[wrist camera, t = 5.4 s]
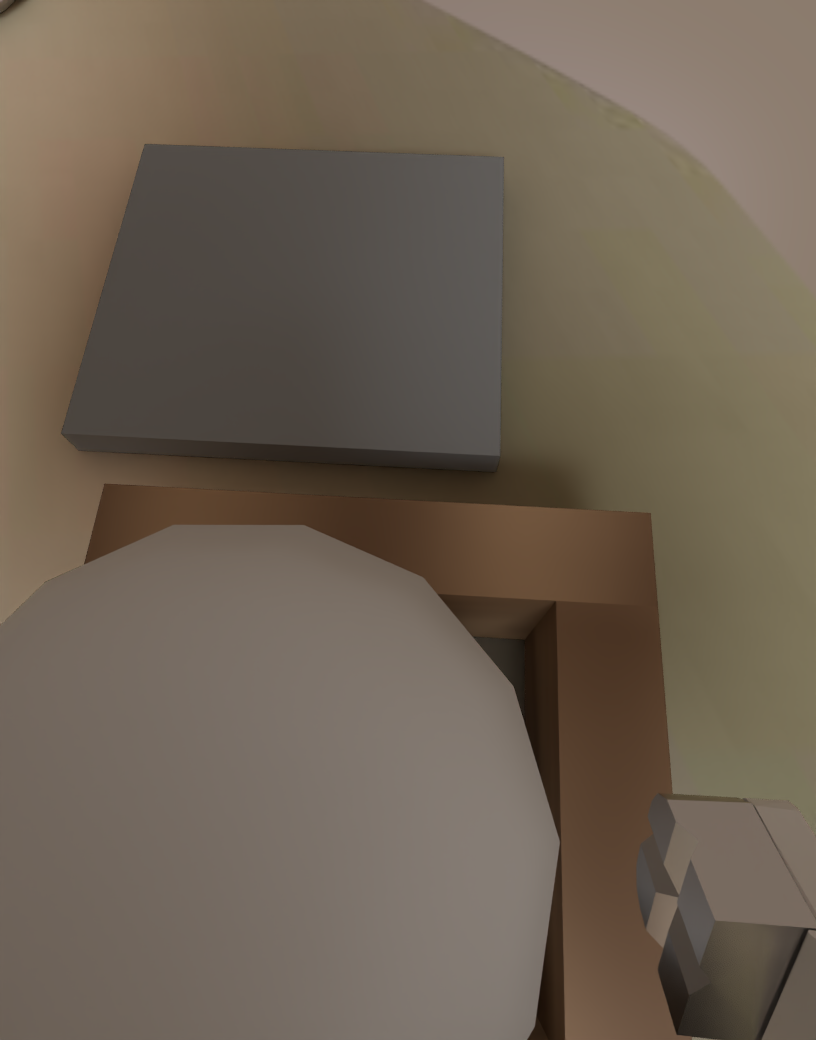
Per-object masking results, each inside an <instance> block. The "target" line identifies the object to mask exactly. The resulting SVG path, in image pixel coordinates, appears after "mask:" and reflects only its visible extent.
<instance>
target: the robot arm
mask: <svg viewBox="0 0 816 1040" xmlns="http://www.w3.org/2000/svg"><path fill="white" fill-rule="evenodd" d="M648 820H649V822H650V825H651V828H652V831H653V834H652V835H651V836H650V837H648V838H647V839H646V840H645V841H643V842H642V843H641V844H640V849H639V854H638V859H637V864H636V876H637V894H638V900H639V906H640V910H641V914H642V918H643V921H644V925H645V929H646V931H647V932H648V933H649V934H650V935H651V936H652V937H653V938H654V939H655V940H656V941H657V942H658V943H659V944H660V945H661V947H662V948H663V951H662V955H661V958H660V962H659V965H658V969H657V970H658V974H659V977H660V981H661V984H662V987H663V991H664V994H665V998H666V1001H667V1004H668V1008H669V1011H670V1014H671V1018H672V1021H673V1025H674V1028H675V1031H676V1035H682V1036H691V1037H700V1038H709V1039H718V1040H816V836H815V835H814V833H813V831H812V830H811V828H810V827H809V825H808V823H807V822H806V820H805V819H804V817H803V815H802V814H801V812H800V811H799V809H798V808H797V807H796V806H794V805H793V804H792V803H791V802H789V801H786V800H769V799H751V798H744V799H740V798H734V797H717V796H700V795H682V794H665V793H657V795H656V796H655V797H654V799H653V800H652V802H651V805H650V809H649V813H648Z"/></svg>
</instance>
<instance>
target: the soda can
mask: <svg viewBox="0 0 816 1040" xmlns="http://www.w3.org/2000/svg"><path fill="white" fill-rule="evenodd" d="M14 1H15V0H0V13H2V12H3V11H4V10H5V9H7V8H8V7H9V6H10V5H11V4H12V3H13V2H14Z"/></svg>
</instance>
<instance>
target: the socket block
mask: <svg viewBox="0 0 816 1040" xmlns="http://www.w3.org/2000/svg"><path fill="white" fill-rule="evenodd" d="M172 525H305V526H307V527H310V528H312V529H314V530H316V531H319V532H321V533H323V534H325V535H328V536H330V537H332V538H335V539H337V540H339V541H341V542H344V543H346V544H348V545H350V546H353V547H355V548H357V549H360V550H362V551H364V552H366V553H369V554H371V555H373V556H376V557H378V558H380V559H382V560H385V561H387V562H389V563H391V564H394V565H396V566H398V567H401V568H403V569H405V570H407V571H410V572H412V573H414V574H417V575H419V576H421V577H423V578H424V579H425V580H426V581H427V582H428V584H429V585H430V586H431V587H432V588H433V590H434V591H435V592H436V593H437V595H438V596H439V597H440V598H441V599H442V601H443V602H444V603H445V604H446V605H447V607H448V608H449V609H450V610H451V611H452V613H453V614H454V615H455V616H456V617H457V619H458V620H459V621H460V622H461V624H462V625H463V626H464V627H465V628H466V630H467V631H468V632H469V633H470V634H471V636H473V637H490V638H506V639H523V640H525V727H526V730H527V733H528V737H529V740H530V743H531V747H532V750H533V753H534V757H535V760H536V763H537V767H538V770H539V773H540V777H541V780H542V784H543V787H544V790H545V794H546V797H547V800H548V804H549V807H550V810H551V814H552V817H553V820H554V824H555V827H556V830H557V834H558V837H559V840H560V845H559V852H558V859H557V867H556V874H555V882H554V889H553V896H552V904H551V911H550V918H549V926H548V933H547V940H546V948H545V955H544V962H543V970H542V977H541V985H540V992H539V999H538V1007H537V1014H536V1021H535V1027H534V1029H533V1030H532V1032H531V1034H530V1036H529V1037H528V1039H527V1040H692V1037H691V1036H682V1035H676V1031H675V1028H674V1025H673V1021H672V1018H671V1014H670V1011H669V1008H668V1004H667V1001H666V998H665V994H664V991H663V987H662V984H661V981H660V977H659V974H658V970H657V969H658V965H659V962H660V958H661V955H662V951H663V948H662V947H661V945H660V944H659V943H658V942H657V941H656V940H655V939H654V938H653V937H652V936H651V935H650V934H649V933H648V932H647V931H646V929H645V925H644V921H643V918H642V914H641V910H640V906H639V900H638V894H637V876H636V864H637V859H638V854H639V849H640V844H641V843H642V842H643V841H645V840H646V839H647V838H648V837H650V836H651V835H652V834H653V831H652V828H651V825H650V822H649V820H648V813H649V809H650V805H651V802H652V800H653V799H654V797H655V796H656V795H657V793H665V794H673V793H672V780H671V768H670V755H669V742H668V729H667V716H666V704H665V691H664V678H663V665H662V652H661V640H660V627H659V614H658V601H657V588H656V576H655V563H654V550H653V537H652V524H651V513H641V512H622V511H603V510H585V509H566V508H547V507H529V506H510V505H491V504H473V503H454V502H435V501H417V500H398V499H379V498H361V497H342V496H323V495H305V494H286V493H267V492H248V491H230V490H211V489H192V488H174V487H155V486H136V485H118V484H104V488H103V492H102V496H101V500H100V504H99V508H98V512H97V516H96V520H95V524H94V527H93V531H92V535H91V539H90V543H89V547H88V551H87V555H86V559H85V563H84V564H87V563H89V562H91V561H93V560H96V559H98V558H100V557H102V556H105V555H107V554H109V553H111V552H114V551H116V550H118V549H120V548H122V547H125V546H127V545H129V544H131V543H134V542H136V541H138V540H140V539H143V538H145V537H147V536H149V535H152V534H154V533H156V532H158V531H161V530H163V529H165V528H167V527H170V526H172Z"/></svg>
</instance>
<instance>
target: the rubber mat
mask: <svg viewBox="0 0 816 1040" xmlns="http://www.w3.org/2000/svg"><path fill="white" fill-rule="evenodd" d="M503 191H504V157H489V156H462V155H434V154H407V153H379V152H352V151H324V150H297V149H269V148H242V147H214V146H187V145H159V144H145V145H144V149H143V152H142V155H141V159H140V162H139V166H138V169H137V173H136V176H135V180H134V183H133V187H132V190H131V193H130V197H129V200H128V204H127V207H126V211H125V214H124V218H123V221H122V225H121V228H120V232H119V235H118V238H117V242H116V245H115V249H114V252H113V256H112V259H111V263H110V266H109V270H108V273H107V276H106V280H105V283H104V287H103V290H102V294H101V297H100V301H99V304H98V308H97V311H96V314H95V318H94V321H93V325H92V328H91V332H90V335H89V339H88V342H87V346H86V349H85V353H84V356H83V359H82V363H81V366H80V370H79V373H78V377H77V380H76V384H75V387H74V391H73V394H72V397H71V401H70V404H69V408H68V411H67V415H66V418H65V422H64V425H63V429H62V432H61V434H62V435H63V436H64V437H65V438H66V439H67V440H68V441H69V442H70V443H71V444H73V445H74V446H75V447H76V448H77V449H78V450H81V451H100V452H119V453H139V454H158V455H177V456H197V457H216V458H235V459H254V460H274V461H293V462H312V463H331V464H351V465H370V466H389V467H408V468H428V469H447V470H466V471H485V472H496V470H497V466H498V462H499V459H500V432H501V351H502V271H503Z"/></svg>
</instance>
